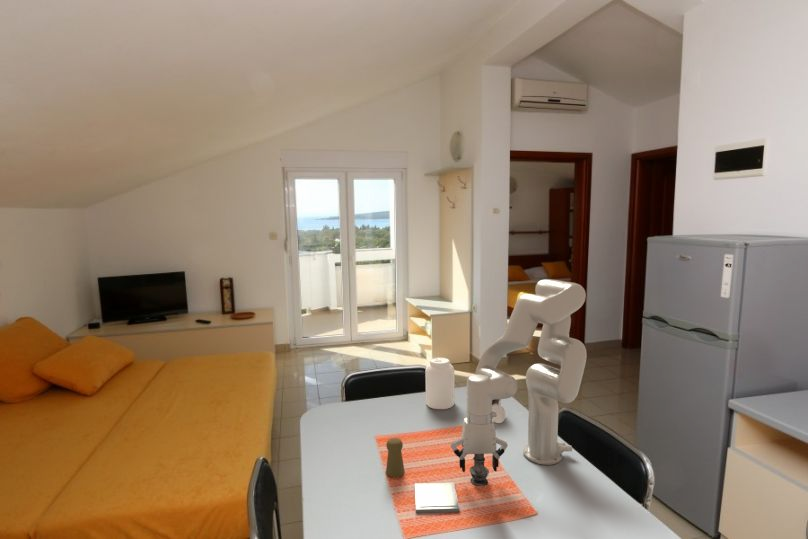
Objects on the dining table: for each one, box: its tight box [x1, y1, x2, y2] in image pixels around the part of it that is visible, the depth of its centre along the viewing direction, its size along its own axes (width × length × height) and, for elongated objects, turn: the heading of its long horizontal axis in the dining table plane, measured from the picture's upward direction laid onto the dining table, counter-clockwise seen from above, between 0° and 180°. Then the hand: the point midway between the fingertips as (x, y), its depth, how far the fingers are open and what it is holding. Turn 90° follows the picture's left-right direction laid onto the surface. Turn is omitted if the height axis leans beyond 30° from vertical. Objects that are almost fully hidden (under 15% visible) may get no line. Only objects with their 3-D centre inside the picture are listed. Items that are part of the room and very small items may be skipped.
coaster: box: [414, 482, 460, 514], centre depth 130 cm, size 12×12×1 cm
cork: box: [385, 437, 405, 479], centre depth 143 cm, size 6×6×11 cm
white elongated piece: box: [424, 356, 456, 410], centre depth 193 cm, size 12×12×20 cm
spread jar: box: [492, 399, 507, 424], centre depth 180 cm, size 12×11×12 cm
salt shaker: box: [469, 454, 490, 487], centre depth 137 cm, size 6×6×12 cm
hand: (478, 469), depth 138 cm, fingers open, 9 cm apart
